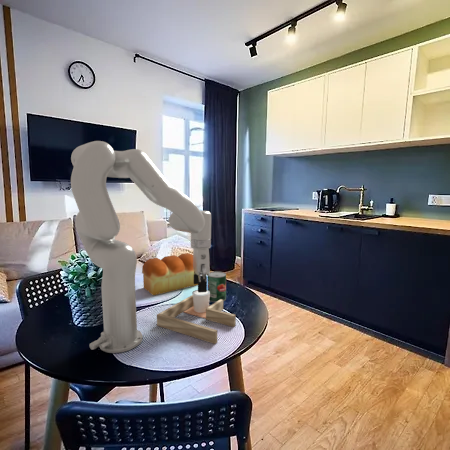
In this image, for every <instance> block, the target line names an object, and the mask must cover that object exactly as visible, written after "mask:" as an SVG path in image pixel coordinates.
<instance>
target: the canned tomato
mask: <svg viewBox="0 0 450 450" xmlns="http://www.w3.org/2000/svg"><path fill="white" fill-rule="evenodd" d="M207 290H208V291H210V299H209V302H212V303H216V302H217V301H219V300H220V299H222V300H223V302H225V301H226V300H227V273H226V272H224V271H210V274H209V275H207Z"/></svg>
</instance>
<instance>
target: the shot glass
mask: <svg viewBox="0 0 450 450" xmlns="http://www.w3.org/2000/svg"><path fill="white" fill-rule="evenodd" d="M191 295H193V304H194V311H196V312H200V313H202V312H206V309H207V308H208V307H209V305H210V301H209V299H210V291H208V289H207V292H198V289H195V290H193V291H192V293H191Z"/></svg>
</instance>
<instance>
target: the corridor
mask: <svg viewBox="0 0 450 450" xmlns="http://www.w3.org/2000/svg"><path fill="white" fill-rule="evenodd" d="M192 306H194V304H193V295H192V294H191V295H190V296H188V297H186V298H184V299H183V300H181V301H178V302H177V303H176V304H174V305H172V306H170V307H167V308H166V309H164V310H162V311H161V312H159V313H157V314H156V325H157V326H156V327H160V328H164V329H166V330H170V331H173V332H175V333H179V334H183V335H185V336H188V337H192V338H195V339H198V340H202V341H204V342H207V343H210V344H213V345H216V344H217V343H218V329H215V328H211V327H207V326H204V325H201V324H198V323H194V322H191V321H187V320H183V319H180V318H176V317H177V316H179V315H181V314H184V311H186V310H187V309H189V308H191V307H192ZM223 310H224V301H223V300H222V299H220V300H219V301H217V302H213V303H212V304H211V306H210V307H208V308H207V309H206V319H205V320H207V321H210V322H214V323H218V324H221V325H225V326H228V327H232V328H235V327H236V324H237V323H236V322H237V321H236V320H237V319H236V316H237V315H236V314H234V313H230V312H227V311H223Z"/></svg>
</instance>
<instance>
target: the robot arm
mask: <svg viewBox="0 0 450 450" xmlns="http://www.w3.org/2000/svg"><path fill="white" fill-rule="evenodd" d="M70 160H71V163H72V166H73V169H72V172H71V176H70V188H71V191H72V192H71V193H72V194H73V195H72V196H73V198H74V201H75V203H76V206H77V209H78V212H77V214H76V216H75V219H74V223H75V229H76V232H77V235H78V237H79V239H80V240H81V242H82V243H81V244H82V245H83V247H84V250H85V252H86V253H87V256H88V258H89V259H90V261H91V262H92V263H93V264H94V265H95V266H97V267H98V268H101V269H102V279H101V287H100V288H101V289H100V290H101V302H102V304H101V305H102V318H103V320H102V321H103V331H102V332H101V333H100V337H98V339H97V340H94V341H92V342H91V343H89V348H90V350H96V349H97V348H100V350H101V351H103V352H105V353H109V354H118V353H123V352H127V351H130V350H132V349H135V348H136V347H138V346H139V345H140V344H141V343H142V341H143V333H142V331H140V330H138V324H137V323H138V322H137V321H138V320H137V300H136V299H137V298H136V270H137V263H138V262H137V261H138V257H137V254H136V251H135V249H134V248H133V247H132V246H131V245H130V244H129V243H127V242H124V241H121V240H119V239H116V237H117V236H118V234H119V232H120V230H121V223H120V219H119V217H118V215H117V213H116V210H115V208H114V205H113V203H112V201H111V198H110V194H109V192H108V188H107V178H118V179H130V180H131V181H132V182H133V183H134V184H135V185H136V187H138V188H139V190H140V191H141V192H142V193H143V195H144V196H146V198H147V199H148V200H149V201H150V202H151V203H154V204H156V205H157V206H159V207H162V208H164V209H166V210H168V211H170V212H171V214H170V215H169V217H168V223H169V226H170V228H172V229H173V230H175V231H179V232H183V233H190V248H191V249H192V250H193V251H192V252H193V254H192V255H193V269H194V284H198V285H197V290H198V292H207V290H208V275H209V274H210V272H211V271H210V270H211V269H210V264H211V263H210V249H211V245H212V240H211V239H212V213H211V212H210V211H209V210H201V209H200V208H199V207H198V205H196V204H195V202H194V201H193V200H192V199H191V198H190V197H188V195H186V194H185V193H183V192H182V191H181V190H179V189H178V188H177V187H176V186H173V184H172V183H171V182H169V181H168V179H167V178H166V176H165V175H164V174H163V173H162V172H161V170H160V169H159V168H158V167H157V166H156V164H155V163H154V162H153V160H151V158H150V157H149V155H148V154H147V153H146V152H144V151H143V150H141V149H137V148H132V149H127V150H114V148H113V147H112V146H111V145H110V144H109V143H108V142H106V141H103V140H102V141H101V140H94V141H90V142H87V143H84V144H81V145H79V146H77V147H76V148H75V149H73V151H72V153H71V157H70Z"/></svg>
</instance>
